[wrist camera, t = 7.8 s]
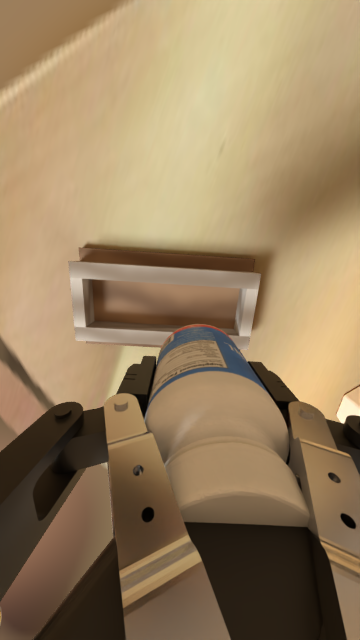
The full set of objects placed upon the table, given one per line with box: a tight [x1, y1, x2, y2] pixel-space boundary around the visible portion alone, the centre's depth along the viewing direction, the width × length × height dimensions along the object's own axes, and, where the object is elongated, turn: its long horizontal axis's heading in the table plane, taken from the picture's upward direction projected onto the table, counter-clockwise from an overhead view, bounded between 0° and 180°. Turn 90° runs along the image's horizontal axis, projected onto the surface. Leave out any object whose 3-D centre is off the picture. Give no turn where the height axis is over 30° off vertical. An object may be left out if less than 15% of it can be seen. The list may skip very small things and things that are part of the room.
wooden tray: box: [68, 248, 261, 351], centre depth 28 cm, size 14×24×4 cm, turn 86°
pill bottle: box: [144, 324, 310, 527], centre depth 9 cm, size 6×5×10 cm
